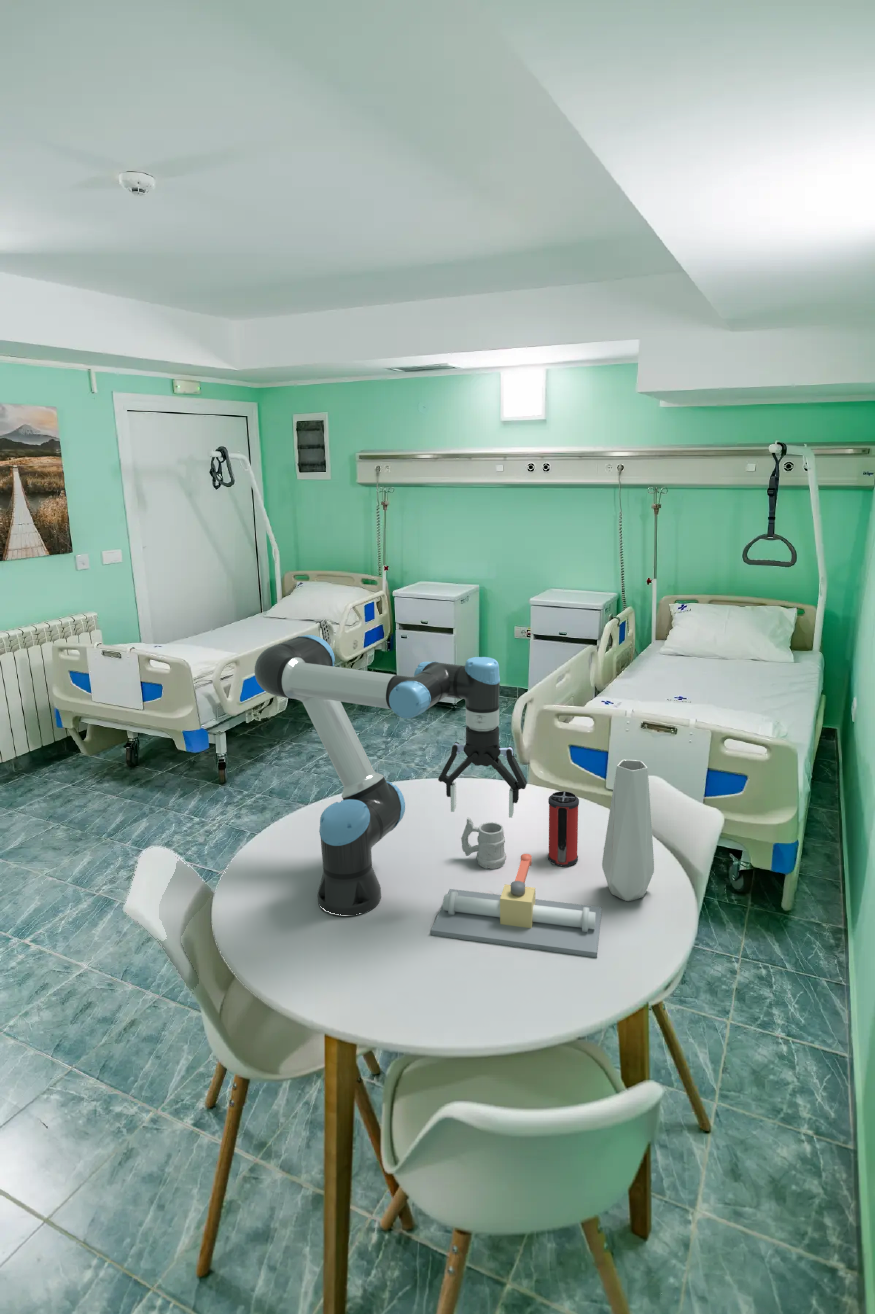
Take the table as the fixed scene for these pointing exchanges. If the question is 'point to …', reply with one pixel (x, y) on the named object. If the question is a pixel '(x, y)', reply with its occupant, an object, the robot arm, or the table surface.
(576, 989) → the table surface
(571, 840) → the speaker
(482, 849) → the mug
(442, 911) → the grey base plate
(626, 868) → the vase
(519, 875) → the lever
